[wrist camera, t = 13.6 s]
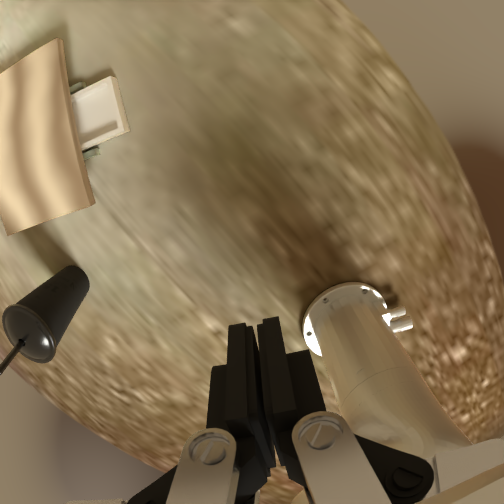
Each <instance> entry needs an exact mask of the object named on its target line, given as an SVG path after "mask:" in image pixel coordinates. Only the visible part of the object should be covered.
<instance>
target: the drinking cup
mask: <svg viewBox="0 0 504 504" xmlns="http://www.w3.org/2000/svg"><path fill="white" fill-rule="evenodd" d="M88 291H89V280H88V277H87V275H86V274H85V273H84V272H83V271H82V270H81V269H80V268H78V267H76V266H68V267H66V268H64V269H63V270H61V271H60V272H59V273H57V274H56V275H54V276H53V277H51V278H50V279H49V280H47V281H46V282H44V283H43V284H42V285H40V286H39V287H38V288H36V289H35V290H33V291H32V292H31V293H29V294H28V295H27V296H25V297H24V298H23V299H21V300H20V301H19V302H17V303H16V304H13V305H10V306H8V307H7V308H6V309H5V311H4V313H3V317H2V323H3V328H4V331H5V333H6V335H7V337H8V339H9V341H10V342H11V344H12V345H13V346H14V348H13V349H12V350H11V352H10V353H9V354H8V355H7V357H6V358H5V359H4V361H3V362H2V363H1V364H0V375H1V374H2V373H3V371H4V370H5V369H6V367H7V366H8V365H9V363H10V362H11V361H12V360H13V358H14V357H15V356H16V354H17V353H18V352H20V353H21V354H22V355H23V356H25V357H26V358H28V359H30V360H32V361H34V362H37V363H47V362H49V361H51V360H52V359H53V357H54V356H55V353H56V347H57V345H58V343H59V342H60V340H61V338H62V336H63V334H64V332H65V330H66V329H67V327H68V325H69V323H70V321H71V320H72V318H73V316H74V314H75V313H76V311H77V309H78V308H79V306H80V304H81V302H82V301H83V299H84V297H85V296H86V294H87V292H88Z"/></svg>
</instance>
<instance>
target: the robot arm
mask: <svg viewBox="0 0 504 504" xmlns="http://www.w3.org/2000/svg"><path fill="white" fill-rule="evenodd" d="M324 298H325V299H324ZM405 313H406V310H405V307H404V306H403V305H402V306H399V307H395V308H394V309H390V310H389V308H387V305H386V302H385V300H384V298H383V297H382V295H381V294H380V293H379V292H378V291H377V290H376V289H375V288H373V287H372V286H370V285H368V284H365V283H360V282H346V283H342V284H338V285H336V286H333V287H331V288H329V289H327V290H326V291H324V292H322V293H321V294H320V295H319V296H318V297H316V298H315V299H314V301H313V302H312V303H311V304H310V306H309V307H308V309H307V311H306V313H305V315H304V318H303V323H302V331H303V336H304V339H305V341H306V344H307V345H308V347H309V348H310V349H311V350H312V351H313V352H315V353H316V354H318V355H320V356H322V358H323V361H324V364H325V367H326V370H327V373H328V376H329V379H330V382H331V385H332V388H333V391H334V394H335V398H336V401H337V404H338V407H339V410H340V413H341V416H340V415H338V414H337V413H333V412H329V411H326V407H325V404H324V400H323V397H322V393H321V390H320V386H319V382H318V379H317V375H316V372H315V368H314V365H313V362H312V358H311V355H310V352H309V349H308V350H303V351H298V352H294V353H289V354H286V352H285V347H284V342H283V337H282V332H281V326H280V321H279V316H277V317H272V318H267V319H263V324H258V325H257V332H258V343H259V350H258V346H257V342H256V338H255V334H254V330H253V327H252V326H248V327H247V326H246V323H240V324H235V325H229V328H228V350H227V364H226V365H219V366H213V367H212V371H211V381H210V391H209V402H208V413H207V425H206V429H204V430H201V431H198V432H196V433H195V434H193V435H192V436H191V437H190V438H189V439H188V440H187V441H186V443H185V445H184V447H183V450H182V453H181V457H180V460H179V463H178V465H176V466H175V467H174V468H172V469H171V470H170V471H168V472H167V473H166V474H164V475H163V476H162V477H160V478H159V479H158V480H156V481H155V482H153V483H152V484H151V485H149V486H148V487H146V488H145V489H143V490H142V491H141V492H139V493H137V494H136V495H135V496H133V497H132V498H131V499H130V500H127V501H123V500H122V499H109V500H89V501H88V500H87V501H69V502H67V503H65V504H259V497H260V488H261V487H262V486H263V485H264V484H265V483H266V482H267V477H270V476H271V474H270V468H274V467H276V460H275V450H274V445H275V449H276V452H277V455H278V458H279V461H280V464H281V466H285V467H286V470H287V473H288V477H289V479H291V480H293V481H295V482H297V483H298V484H300V485H302V486H303V489H304V490H303V491H301V492H300V493H299V494H298V495H296V496H295V498H294V499H293V500H292V502H291V504H504V440H502V439H491V440H487V441H484V442H481V443H478V444H474V445H473V444H472V442H471V441H470V440H469V439H468V438H467V436H466V435H465V434H464V433H463V432H462V431H461V430H460V428H459V427H458V426H457V425H456V424H455V423H454V421H453V420H452V419H451V418H450V417H449V415H448V414H447V413H446V411H445V410H444V409H443V408H442V406H441V405H440V403H439V402H438V400H437V399H436V397H435V396H434V394H433V393H432V391H431V390H430V388H429V387H428V385H427V384H426V382H425V380H424V379H423V377H422V376H421V374H420V372H419V371H418V369H417V368H416V366H415V364H414V363H413V361H412V360H411V358H410V357H409V355H408V354H407V352H406V350H405V349H404V347H403V346H402V344H401V343H400V341H399V340H398V338H397V337H396V335H395V334H394V333H396V332H399V331H400V332H402V331H405V330H408V329H411V328H412V320H411V318H410V316H407V317H404V318H400V319H397V320H395V321H392V322H391V321H390V320H391V318H394V317H399V316H402V315H405Z"/></svg>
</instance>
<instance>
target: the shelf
mask: <svg viewBox="0 0 504 504" xmlns="http://www.w3.org/2000/svg"><path fill="white" fill-rule="evenodd" d="M84 88H86V83H85V82H79V83H77V84H75V85H73V86H71V87H69V84H68V77H67V70H66V62H65V53H64V44H63V40H62V39H59V38H56V39H54V40H52V41H50V42H48V43H47V44H45V45H43V46H42V47H40V48H38V49H37V50H35V51H33V52H32V53H30V54H29V55H27V56H25V57H24V58H22V59H21V60H19V61H18V62H16V63H15V64H13V65H12V66H11V67H9V68H8V69H6V70H5V71H4V72H2V73H1V74H0V214H1V218H2V221H3V224H4V227H5V230H6V233H7V236H9V235H12V234H14V233H17V232H19V231H22V230H24V229H27V228H30V227H32V226H35V225H38V224H40V223H43V222H46V221H48V220H51V219H54V218H57V217H60V216H63V215H66V214H68V213H71V212H74V211H77V210H80V209H83V208H86V207H89V206H92V205H93V204H95V203H96V202H95V199H94V196H93V192H92V189H91V185H90V181H89V178H88V174H87V170H86V166H85V162H84V160H86V159H89V158H92V157H94V156H97V155H100V151H99V148H96V149H93V150H90V151H88V152H85V153H83V154H82V150H81V146H80V141H79V137H78V132H77V128H76V123H75V118H74V113H73V107H72V102H71V96H70V95H72V94H74V93H76V92H78V91H80V90H82V89H84Z"/></svg>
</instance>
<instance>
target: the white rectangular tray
mask: <svg viewBox="0 0 504 504" xmlns="http://www.w3.org/2000/svg"><path fill="white" fill-rule="evenodd" d="M70 96H71V102H72V107H73V113H74V118H75V123H76V128H77V132H78V137H79V141H80V146H81V150H82V152H83V151H85V150H87V149H89V148H91V147H94V146H96V145H98V144H100V143H103V142H105V141H107V140H110V139H112V138H115V137H117V136H119V135H122V134H124V133H127V132H129V131H130V128H129V124H128V120H127V117H126V113H125V109H124V105H123V101H122V97H121V93H120V89H119V85H118V81H117V78H115V77H112V76H109V77H107V78H105V79H102V80H100V81H98V82H96V83H94V84H92V85H90V86H88V87H86V88H84V89H82V90H80V91H78V92H76V93H74V94H72V95H70Z"/></svg>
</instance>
